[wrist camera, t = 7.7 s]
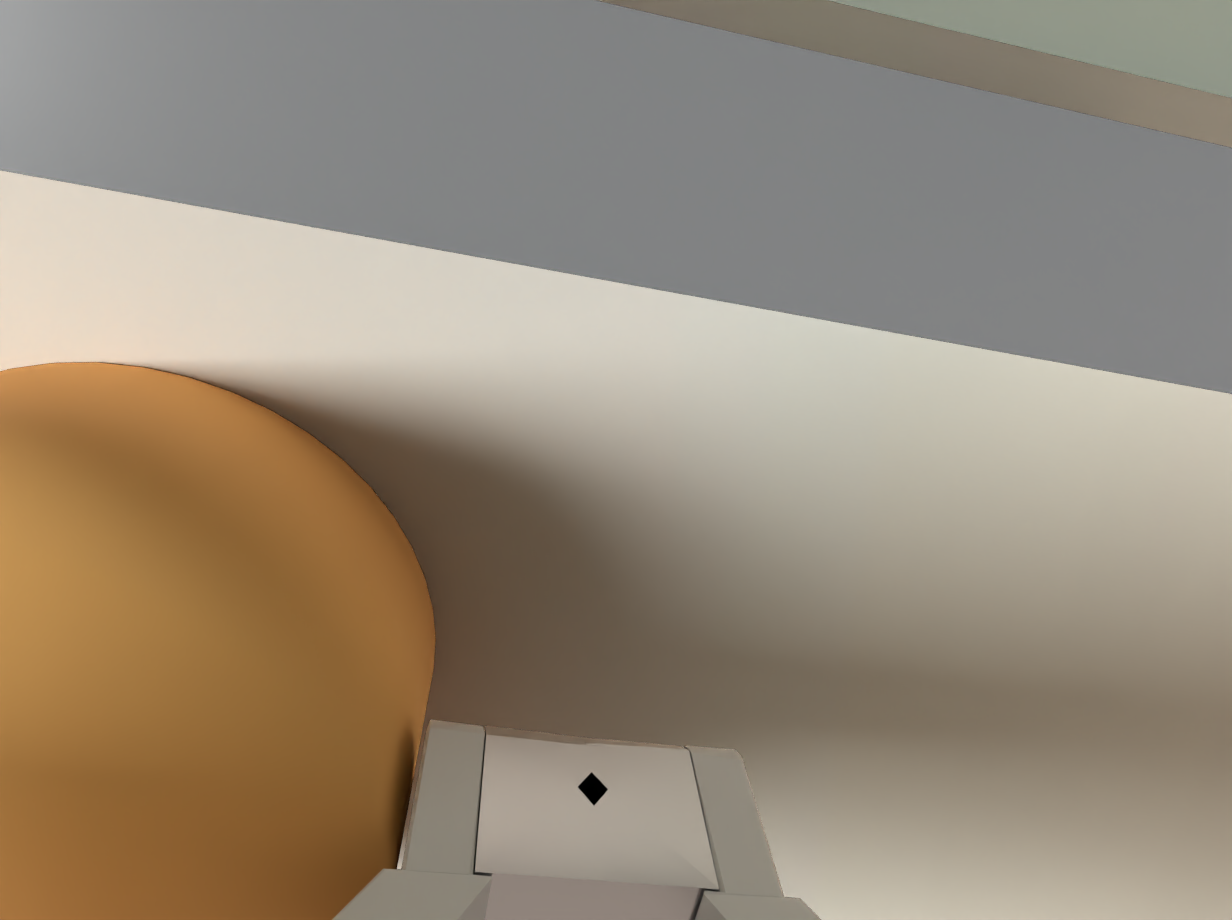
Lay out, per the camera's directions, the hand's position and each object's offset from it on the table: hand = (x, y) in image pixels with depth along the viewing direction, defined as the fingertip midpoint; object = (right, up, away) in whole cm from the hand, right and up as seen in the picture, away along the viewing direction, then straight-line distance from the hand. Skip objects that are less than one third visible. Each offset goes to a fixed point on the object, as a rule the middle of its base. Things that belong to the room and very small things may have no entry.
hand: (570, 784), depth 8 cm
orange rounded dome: (-5, +1, +1) cm, 5 cm away
